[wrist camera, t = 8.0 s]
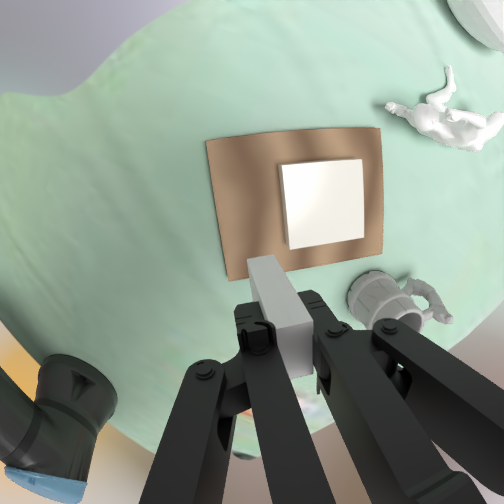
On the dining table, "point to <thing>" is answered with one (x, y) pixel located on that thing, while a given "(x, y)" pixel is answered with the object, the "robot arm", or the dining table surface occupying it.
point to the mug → (394, 301)
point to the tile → (322, 201)
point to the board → (270, 201)
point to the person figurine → (450, 120)
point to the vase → (481, 20)
